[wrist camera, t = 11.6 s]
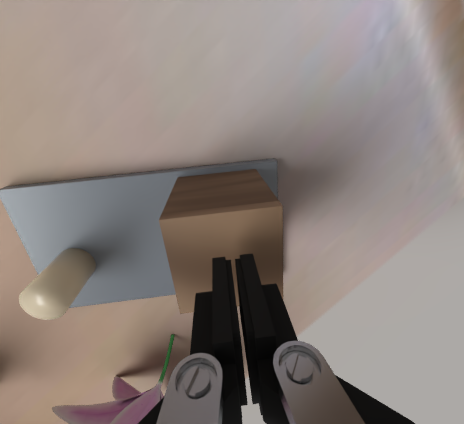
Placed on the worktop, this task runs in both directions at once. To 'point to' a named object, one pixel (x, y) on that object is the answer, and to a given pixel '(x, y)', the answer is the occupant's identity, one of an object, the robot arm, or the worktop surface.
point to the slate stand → (101, 235)
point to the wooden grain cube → (221, 230)
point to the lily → (117, 404)
